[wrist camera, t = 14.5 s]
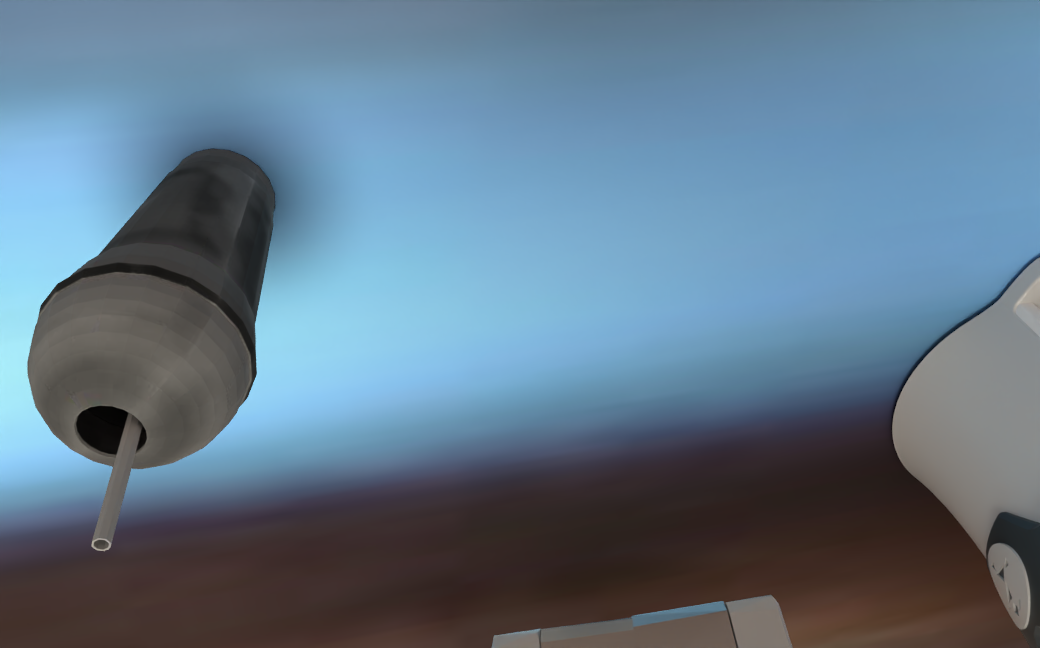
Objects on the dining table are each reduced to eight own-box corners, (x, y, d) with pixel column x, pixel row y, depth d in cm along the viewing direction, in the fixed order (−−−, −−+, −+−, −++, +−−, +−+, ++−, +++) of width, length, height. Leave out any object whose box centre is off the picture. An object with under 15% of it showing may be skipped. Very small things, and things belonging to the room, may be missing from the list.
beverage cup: (116, 121, 39) (-143, 454, 23) (291, 114, 39) (157, 439, 23) (161, 269, 43) (-31, 639, 27) (319, 262, 43) (222, 626, 27)
